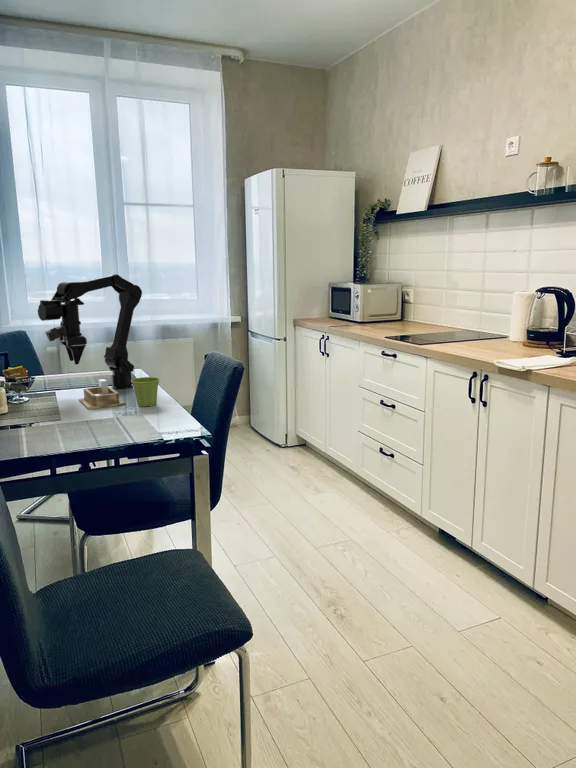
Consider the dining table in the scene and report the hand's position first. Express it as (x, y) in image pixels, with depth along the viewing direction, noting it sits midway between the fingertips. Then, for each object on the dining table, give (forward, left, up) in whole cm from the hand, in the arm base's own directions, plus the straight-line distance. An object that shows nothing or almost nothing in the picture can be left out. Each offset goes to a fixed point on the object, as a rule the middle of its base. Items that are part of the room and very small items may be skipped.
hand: (74, 362), depth 208 cm
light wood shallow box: (-5, +16, -12) cm, 21 cm away
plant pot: (-17, +28, -12) cm, 35 cm away
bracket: (-5, +16, -11) cm, 20 cm away
